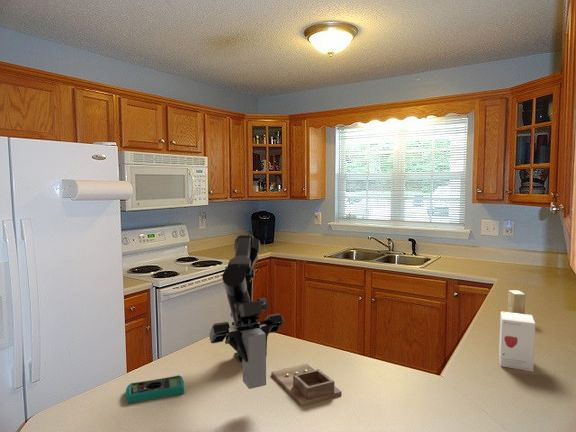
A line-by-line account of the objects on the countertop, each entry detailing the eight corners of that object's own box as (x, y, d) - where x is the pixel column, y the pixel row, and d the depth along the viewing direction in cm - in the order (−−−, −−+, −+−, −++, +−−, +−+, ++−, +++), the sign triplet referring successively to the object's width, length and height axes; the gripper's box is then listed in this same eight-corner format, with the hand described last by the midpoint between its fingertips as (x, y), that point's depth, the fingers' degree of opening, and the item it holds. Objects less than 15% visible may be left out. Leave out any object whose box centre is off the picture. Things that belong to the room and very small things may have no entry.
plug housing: (242, 381, 102) (242, 330, 101) (259, 377, 104) (258, 328, 103) (249, 389, 98) (248, 336, 97) (266, 385, 100) (265, 333, 99)
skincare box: (506, 318, 168) (507, 289, 168) (518, 318, 168) (519, 290, 167) (513, 323, 162) (514, 293, 161) (524, 324, 162) (525, 294, 161)
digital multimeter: (126, 392, 111) (126, 382, 110) (182, 383, 116) (182, 373, 115) (125, 406, 104) (125, 395, 103) (185, 395, 109) (184, 385, 109)
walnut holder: (271, 375, 119) (271, 361, 119) (306, 366, 125) (306, 354, 124) (301, 406, 102) (301, 390, 102) (341, 395, 108) (341, 380, 107)
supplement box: (499, 366, 124) (501, 318, 123) (498, 355, 132) (499, 310, 131) (534, 372, 120) (536, 323, 119) (530, 360, 128) (532, 314, 127)
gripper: (211, 292, 99) (226, 352, 90) (280, 283, 107) (300, 338, 98) (203, 314, 106) (216, 372, 97) (269, 304, 115) (286, 357, 105)
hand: (256, 359), depth 99 cm, fingers closed on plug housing, 4 cm apart
